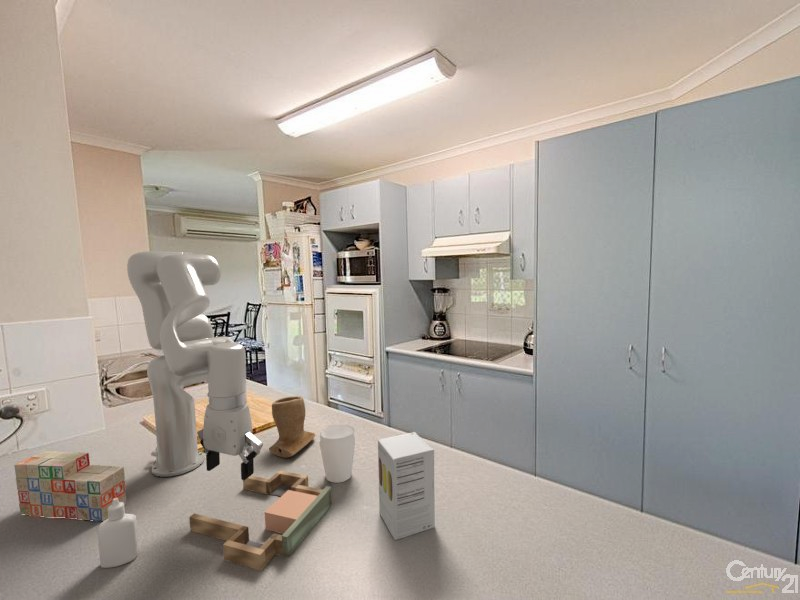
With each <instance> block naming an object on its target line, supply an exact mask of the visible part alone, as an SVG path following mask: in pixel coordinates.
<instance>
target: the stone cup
mask: <svg viewBox="0 0 800 600" xmlns="http://www.w3.org/2000/svg"><path fill="white" fill-rule="evenodd" d="M271 415H272V416H271V417H272V419H273V421H274V423H275V426H276V429H277V432H278V439H277V440H276V441H275V442H274V443H273V444H272V445H271V446H270V447H269V448H268V450H269V452H271V453H272V454H273V455H276V456H277V457H280V458H282V459H283V458H284V459H285V458H290V457H293V456H294V455H296V454H298V452H300V451H301V450H302V449H303V448H305V446H307V445H308V444H310V442H311V441H312V440H314V438H315V437H316V433H315V432H311V431H306V430H305V429H304V426H305V419H306V405H305V400H304V398H303V397H302V396H300V395H296V396H295V395H294V396H293V395H292V396H286V397H281V398H278V399H275V400H274V401H273V402H272V404H271Z"/></svg>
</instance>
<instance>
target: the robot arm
mask: <svg viewBox="0 0 800 600" xmlns="http://www.w3.org/2000/svg"><path fill="white" fill-rule="evenodd" d="M126 267H127V269H126V270H127V276H128V281H129V283H130V284H131V288H132V289H133V292H134V293H135V295H136V296H137V298H138V299H139V302H140V305H141V307H142V308H141V309H142V315H143V320H144V325H145V330H146V336H147V340H148V343H149V345H150V347H151V348H152V349H153V350H156V351H162V353H163V355H159V356H158V357H156V358H154V359H152V360H151V361H150V362H149V363H148V365H147V368H146V371H147V372H146V373H147V374H146V375H147V378H148V382H149V386H150V390H151V395H152V399H153V411H154V422H155V423H154V424H155V435H156V436H155V437H156V447H155V450H152V451H151V453H150V455H151V456H152V457H155V459H156V462H154V463H153V465H152V466H151V472H152V474H153V476H155V477H159V476H160V477H161V478H166V477H169V478H170V477H174V476H179V475H183V474H186V473H188V472H191V471H193V470H194V469H196V468H198V467H200V466H201V465H202V463H203V462H204V461H206V462H205V463H206V465H205V466H206V471H208V472H211V471H212V470H213V469H215V468H217V467H218V466H220V464H221V461H220V460H221V459H220V455H221V454H225V455H227V456H233V457H235V456H239V457H240V458H241V459H240V460H241V461H242V462H241V463H240V478H241V480H242V481H243V480H246V479H247V478H248V477H249V476H253V474H254V472H255V469H254V467H255V466H254V459H255V458H257V456H258V455H260V453H261V450H262V448H263V447H264V446H263V445H264V444H263V441H261V440H259V439H258V438H257V437H256V436H255V435H254V434H253V423H252V416H251V410H250V407H249V404H248V402H247V367H246V366H247V365H246V363H247V360H246V356H247V355H246V348H245V347H244V345H242V344H241V343H238V342H235V341H234V340H233V339H232V338H231V337H229V336H216V337H215V334H214V330H213V326H212V323H211V321H210V319H209V318H208V316H206V315H205V314H203V313H205V311H206V310H208V309H209V306H210V302H211V301H210V296H209V295H208V293H207V291H206V289H205V287H207V286H208V287H209V286H214V285H217V284H218V283H219V281H221V280H220V279H221V275H222V272H221V267H220V264H219V262H218V261H217V259H216V258H214V257H213V256H212V255H210V254H204V253H199V252H191V251H187V252H186V251H184V252H183V251H162V250H161V251H158V250H152V251H151V250H150V251H140V252H136V253H134V254H132V255H130V256H129V257H128V260H127V264H126ZM203 382H207V385H208V386H207V387H208V392H207V397H208V404H207V405H206V407H205V411H204V418H203V428H201V429H200V430H198V429H197V418H196V403H195V399H194V397H193V396H192V395H191V394H190V393H189V392H187V391H186V390H185V389H184V388H185V387H188V386H192V385H194V384H199V383H203ZM197 430H198V431H197ZM198 438H199V443H200V445H201V447H202V448H203V451H201V452H199V453H198V451H199V446H198ZM245 451H246V452H247V454H248V455H247V454H246V452H245ZM200 464H201V465H200Z"/></svg>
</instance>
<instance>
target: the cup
mask: <svg viewBox="0 0 800 600" xmlns="http://www.w3.org/2000/svg"><path fill="white" fill-rule="evenodd" d="M355 445H356V437H355V428H354V427H353V426H352V425H349V424H339V423H337V424H331V425H329V426H325V427H324V428H322V429H321V430H320V434H319V447H320V448H319V449H320V452H321V459H322V463H323V469H324V474H325V479H326V480H327V481H328V482H331V483H335V484H336V483H337V484H338V483H342V482H345V481H348V480H349V479H350V478H351V477H352V475H353V465H354V456H355V448H356V447H355Z"/></svg>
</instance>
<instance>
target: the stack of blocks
mask: <svg viewBox="0 0 800 600" xmlns="http://www.w3.org/2000/svg"><path fill="white" fill-rule="evenodd" d="M90 463H91V462H90V454H89V452H77V451H75V452H74V451H54V450H53V451H51V450H45V451H41V452H40V453H37V454H35V455H32V456H31V457H29V458H26V459H24V460H22V461H20V462H18V463H17V462H16V463H15V464H14V465H13V466H14V473H15V481H16V490H17V494H18V502H19V503H18V505H19V512H20V515H21V514H25V515H31V516H30V517H32V516H44V517H65V518H77V519H82V520H81V521H84V520H93V521H92V522H96V521H105V519H108V507H109V506H111V505H112V503H113V499H114V498H118V500H119V502H123V503H124V507H125V506H126V505H127V496H126V482H125V480H126V476H125V467H124V466H114V465H113V466H112V465H98V464H97V465H96V464H95V465H94V464H90Z"/></svg>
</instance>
